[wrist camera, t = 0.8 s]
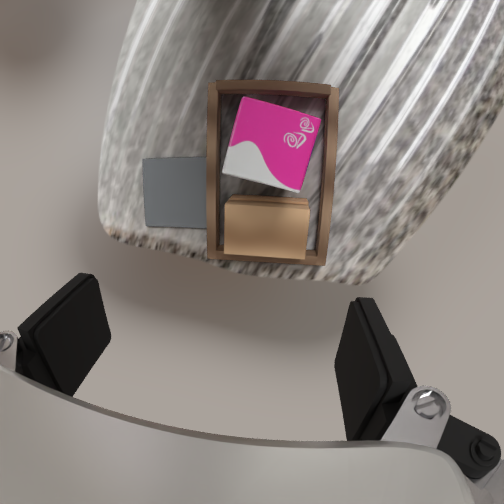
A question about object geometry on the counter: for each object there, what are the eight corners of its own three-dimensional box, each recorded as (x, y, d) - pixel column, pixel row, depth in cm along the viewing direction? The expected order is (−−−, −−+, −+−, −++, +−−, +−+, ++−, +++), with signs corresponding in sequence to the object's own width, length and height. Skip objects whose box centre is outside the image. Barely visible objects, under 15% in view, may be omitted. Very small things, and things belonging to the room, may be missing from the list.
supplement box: (291, 178, 30) (299, 197, 20) (237, 163, 30) (215, 174, 19) (306, 127, 28) (323, 117, 17) (251, 111, 28) (237, 94, 17)
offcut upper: (228, 199, 29) (225, 204, 27) (307, 204, 29) (310, 209, 27) (227, 245, 31) (223, 253, 29) (302, 250, 31) (304, 259, 28)
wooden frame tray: (212, 86, 27) (206, 80, 24) (335, 91, 26) (340, 86, 23) (211, 252, 34) (205, 262, 31) (322, 258, 33) (326, 269, 30)
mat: (144, 158, 31) (142, 159, 30) (210, 156, 30) (209, 157, 30) (147, 225, 33) (145, 226, 33) (210, 227, 33) (210, 228, 33)
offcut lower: (233, 193, 32) (230, 197, 29) (306, 197, 31) (308, 202, 29) (232, 236, 33) (229, 243, 31) (302, 240, 33) (304, 248, 31)
